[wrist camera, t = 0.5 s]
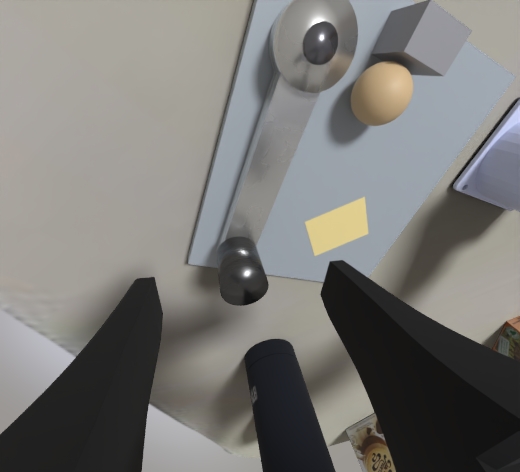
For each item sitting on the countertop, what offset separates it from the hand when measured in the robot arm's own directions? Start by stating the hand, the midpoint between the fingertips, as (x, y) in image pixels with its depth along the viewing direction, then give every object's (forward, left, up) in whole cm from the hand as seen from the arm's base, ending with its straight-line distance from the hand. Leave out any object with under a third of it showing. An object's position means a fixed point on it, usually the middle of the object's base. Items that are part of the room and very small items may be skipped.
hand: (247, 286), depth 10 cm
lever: (-2, -3, -8) cm, 9 cm away
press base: (-8, -4, -10) cm, 13 cm away
